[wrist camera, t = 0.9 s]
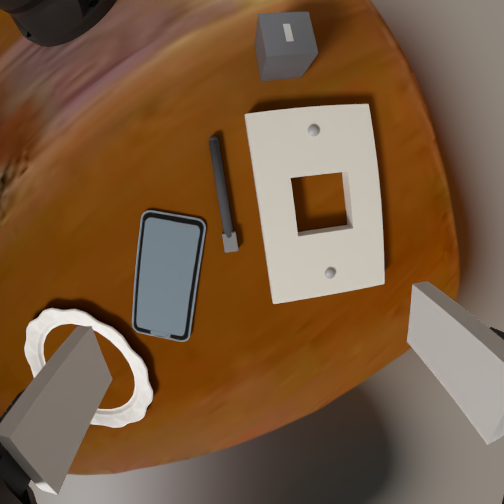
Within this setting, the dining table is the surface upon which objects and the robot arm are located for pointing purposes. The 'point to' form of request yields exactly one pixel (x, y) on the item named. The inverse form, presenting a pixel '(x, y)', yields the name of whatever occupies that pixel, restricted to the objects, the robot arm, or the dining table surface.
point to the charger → (284, 45)
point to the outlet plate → (282, 204)
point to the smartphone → (167, 274)
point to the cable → (222, 197)
